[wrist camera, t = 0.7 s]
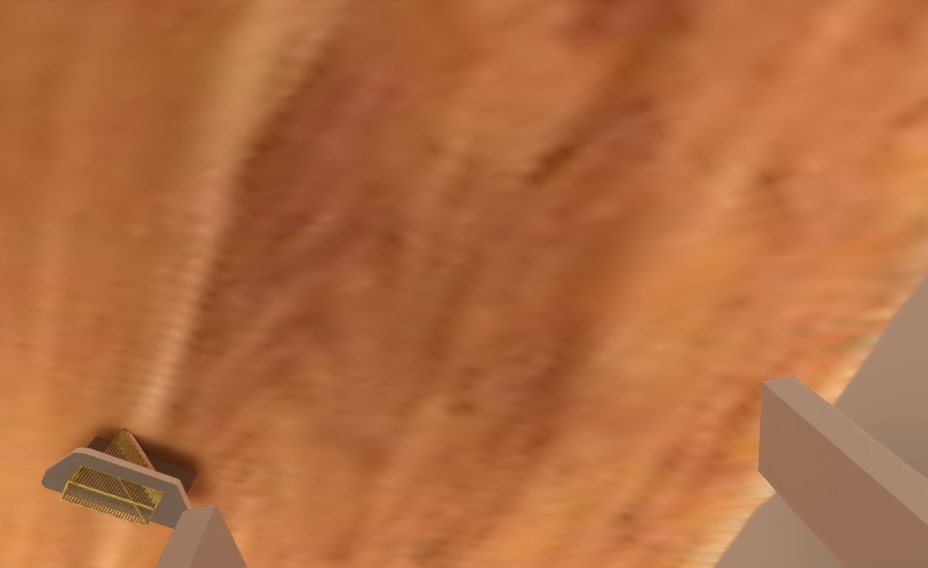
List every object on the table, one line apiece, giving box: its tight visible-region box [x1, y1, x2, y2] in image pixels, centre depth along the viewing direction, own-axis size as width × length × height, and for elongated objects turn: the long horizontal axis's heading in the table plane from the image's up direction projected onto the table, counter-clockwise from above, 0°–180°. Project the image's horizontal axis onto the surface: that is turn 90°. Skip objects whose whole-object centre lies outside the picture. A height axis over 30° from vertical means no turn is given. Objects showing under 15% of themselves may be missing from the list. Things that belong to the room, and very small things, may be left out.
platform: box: [42, 428, 198, 529], centre depth 39 cm, size 12×18×7 cm, turn 59°
